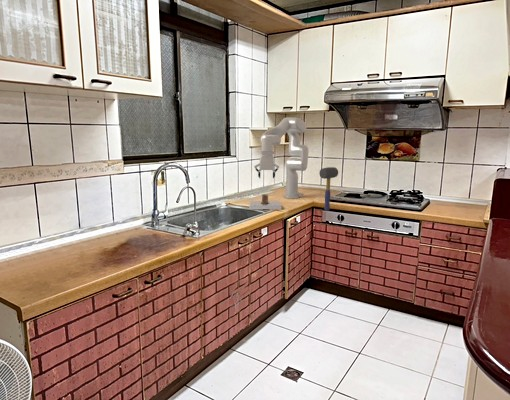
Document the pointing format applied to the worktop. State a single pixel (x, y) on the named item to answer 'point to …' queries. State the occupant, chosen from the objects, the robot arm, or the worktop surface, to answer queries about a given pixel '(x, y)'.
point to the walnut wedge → (264, 198)
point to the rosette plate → (265, 205)
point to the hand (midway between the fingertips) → (266, 178)
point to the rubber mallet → (328, 183)
